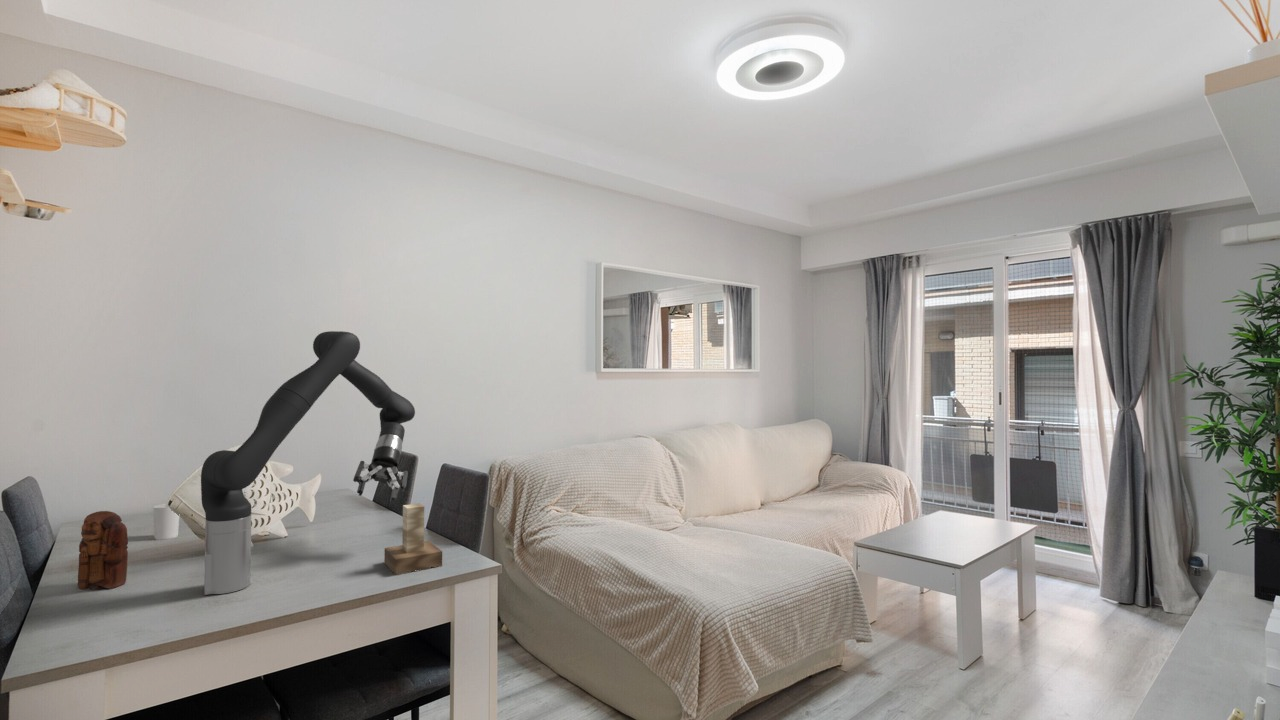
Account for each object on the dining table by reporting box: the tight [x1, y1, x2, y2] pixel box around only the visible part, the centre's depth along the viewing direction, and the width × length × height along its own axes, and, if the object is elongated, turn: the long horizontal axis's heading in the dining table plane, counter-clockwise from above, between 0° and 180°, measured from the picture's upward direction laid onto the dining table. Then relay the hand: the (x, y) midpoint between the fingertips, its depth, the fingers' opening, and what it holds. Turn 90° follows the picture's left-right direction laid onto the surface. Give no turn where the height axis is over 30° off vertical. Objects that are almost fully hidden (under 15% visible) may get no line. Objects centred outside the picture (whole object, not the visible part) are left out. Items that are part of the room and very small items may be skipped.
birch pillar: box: [401, 502, 425, 553], centre depth 163 cm, size 4×4×12 cm
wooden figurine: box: [77, 510, 129, 590], centre depth 146 cm, size 12×6×18 cm, turn 86°
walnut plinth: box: [384, 540, 443, 576], centre depth 162 cm, size 12×12×4 cm
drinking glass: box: [152, 502, 180, 541], centre depth 187 cm, size 7×7×10 cm
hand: (376, 497), depth 169 cm, fingers open, 8 cm apart
